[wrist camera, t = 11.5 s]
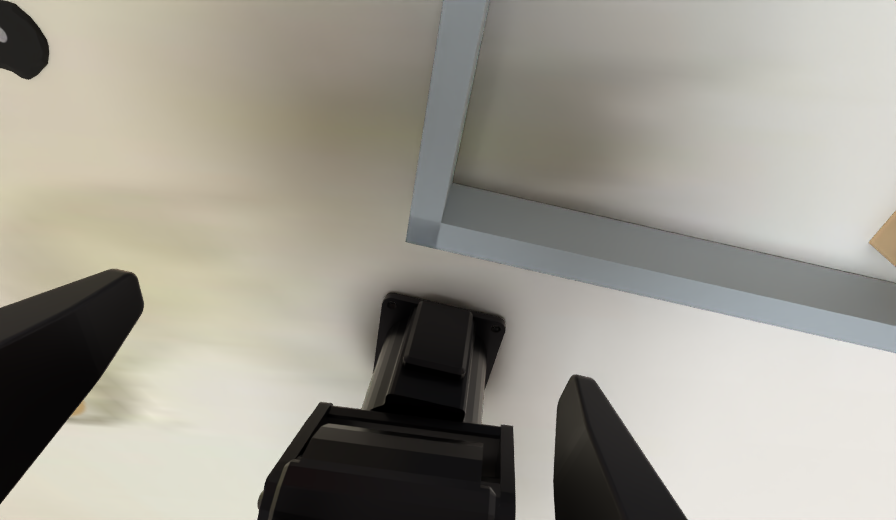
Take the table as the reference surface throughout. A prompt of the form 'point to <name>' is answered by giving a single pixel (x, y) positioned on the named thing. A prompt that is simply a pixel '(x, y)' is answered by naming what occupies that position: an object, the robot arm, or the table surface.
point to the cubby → (616, 231)
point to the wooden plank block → (886, 239)
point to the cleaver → (21, 42)
